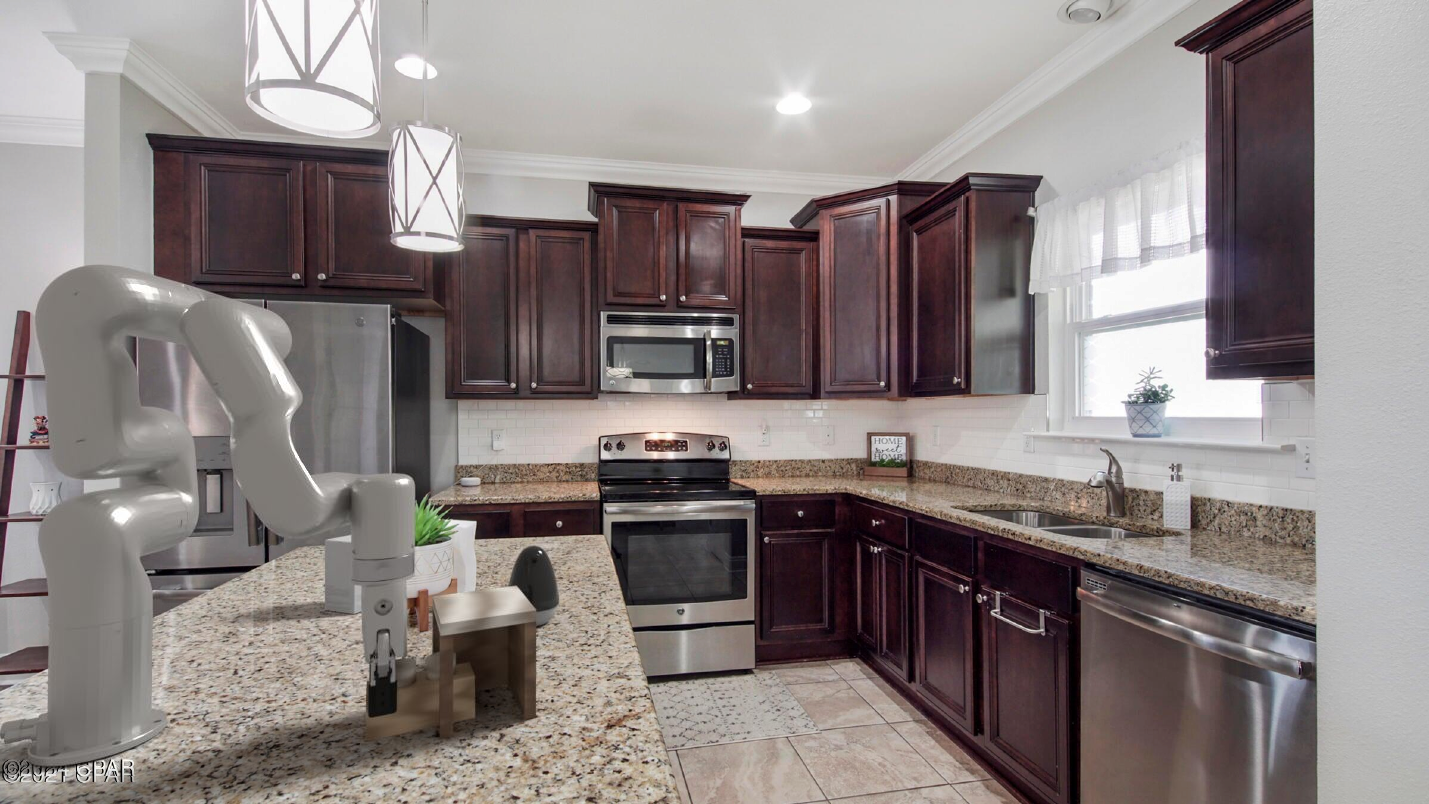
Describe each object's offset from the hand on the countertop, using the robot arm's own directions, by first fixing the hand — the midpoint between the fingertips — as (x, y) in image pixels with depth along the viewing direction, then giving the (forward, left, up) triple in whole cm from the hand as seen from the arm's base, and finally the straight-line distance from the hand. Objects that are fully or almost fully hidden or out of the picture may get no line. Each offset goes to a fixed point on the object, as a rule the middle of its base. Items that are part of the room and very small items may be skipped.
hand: (382, 700), depth 83 cm
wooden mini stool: (+12, 0, -3) cm, 13 cm away
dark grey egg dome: (+26, +33, -4) cm, 42 cm away
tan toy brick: (+5, 0, -4) cm, 6 cm away
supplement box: (-5, +62, -4) cm, 62 cm away
